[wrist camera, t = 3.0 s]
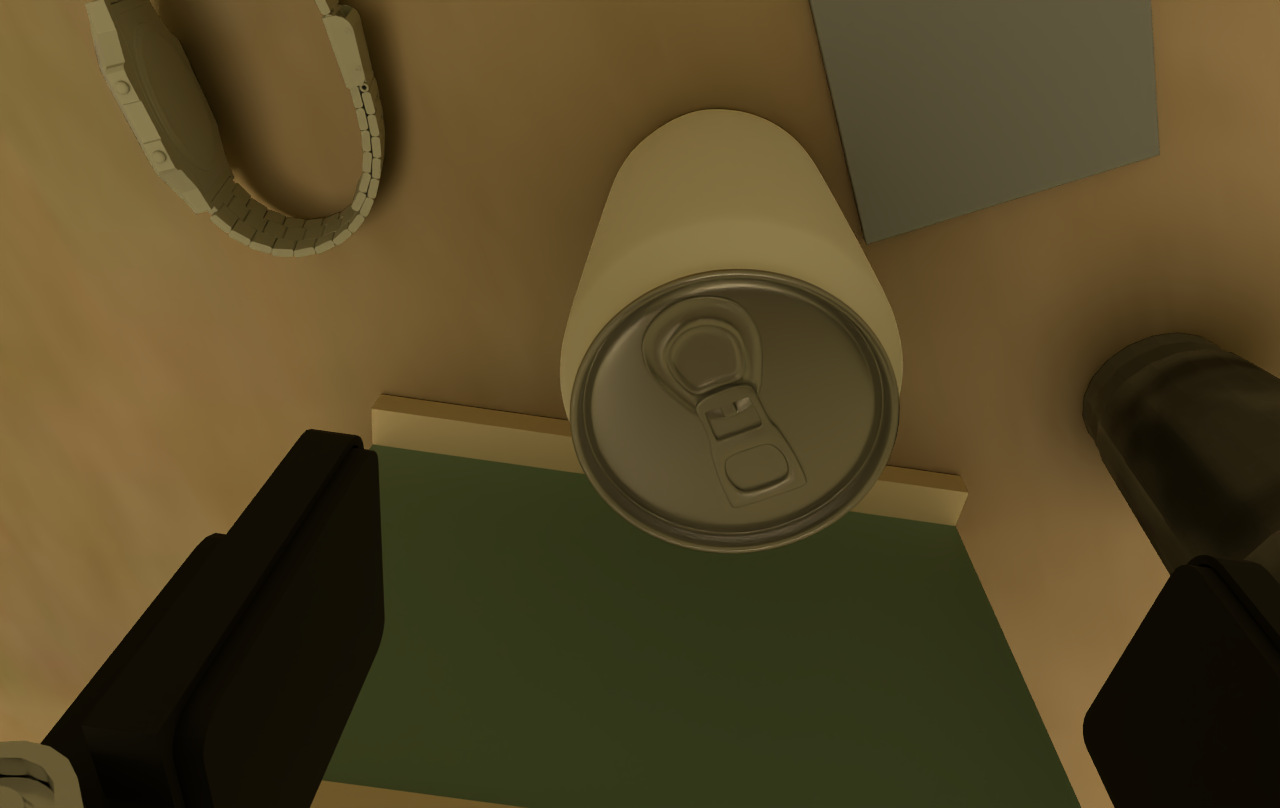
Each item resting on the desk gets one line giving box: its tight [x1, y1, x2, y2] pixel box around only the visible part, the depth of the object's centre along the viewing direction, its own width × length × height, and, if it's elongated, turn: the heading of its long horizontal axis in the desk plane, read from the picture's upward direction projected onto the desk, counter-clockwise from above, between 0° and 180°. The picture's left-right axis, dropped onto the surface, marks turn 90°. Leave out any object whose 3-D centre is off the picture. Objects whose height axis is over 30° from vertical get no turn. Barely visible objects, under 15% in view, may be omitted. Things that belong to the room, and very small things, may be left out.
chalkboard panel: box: [310, 394, 1081, 808], centre depth 23 cm, size 20×4×14 cm, turn 83°
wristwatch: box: [85, 0, 385, 258], centre depth 21 cm, size 9×6×5 cm
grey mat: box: [809, 0, 1160, 244], centre depth 22 cm, size 8×8×1 cm
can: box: [560, 109, 903, 554], centre depth 19 cm, size 6×6×12 cm
